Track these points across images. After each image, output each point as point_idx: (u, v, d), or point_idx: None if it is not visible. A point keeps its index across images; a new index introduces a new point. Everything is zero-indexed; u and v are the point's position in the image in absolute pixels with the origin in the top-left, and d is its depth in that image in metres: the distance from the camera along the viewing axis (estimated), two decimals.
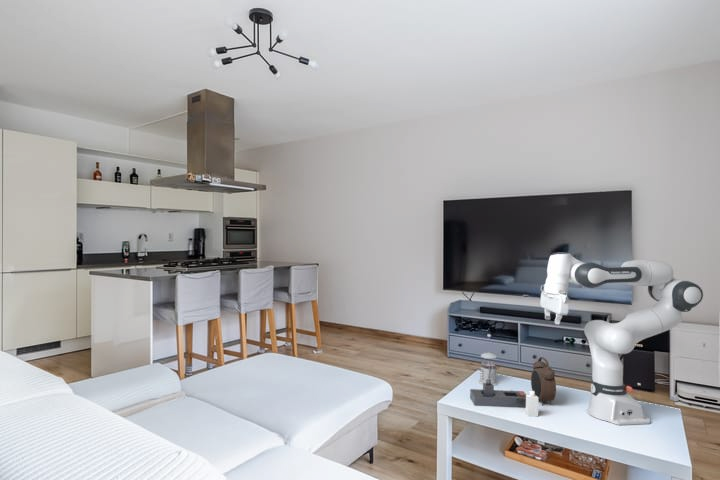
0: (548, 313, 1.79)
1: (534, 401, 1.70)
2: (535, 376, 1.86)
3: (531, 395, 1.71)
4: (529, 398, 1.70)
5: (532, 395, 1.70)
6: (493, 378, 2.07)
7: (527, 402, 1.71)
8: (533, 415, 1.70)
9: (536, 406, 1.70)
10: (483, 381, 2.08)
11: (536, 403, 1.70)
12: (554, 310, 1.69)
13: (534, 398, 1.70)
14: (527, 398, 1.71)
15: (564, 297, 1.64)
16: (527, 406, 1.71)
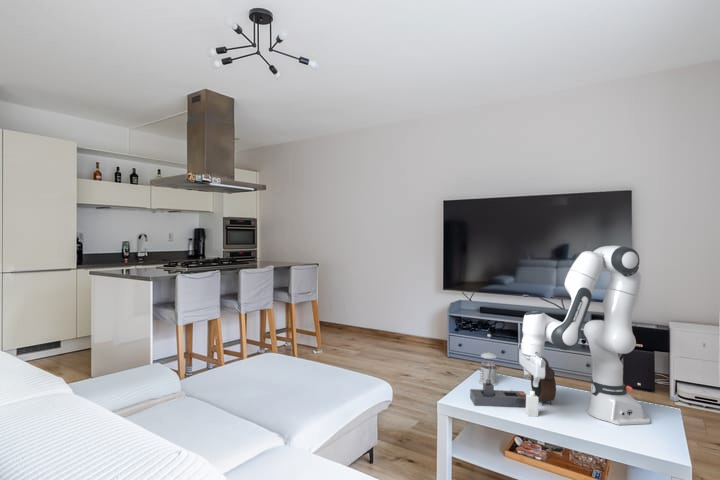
0: (527, 372, 1.77)
1: (535, 401, 1.70)
2: None
3: (531, 395, 1.71)
4: (529, 398, 1.70)
5: (532, 395, 1.70)
6: (493, 378, 2.07)
7: (527, 402, 1.71)
8: (533, 415, 1.70)
9: (536, 406, 1.70)
10: (483, 381, 2.08)
11: (536, 403, 1.70)
12: (531, 373, 1.66)
13: (534, 398, 1.70)
14: (527, 398, 1.71)
15: (540, 361, 1.62)
16: (527, 406, 1.71)
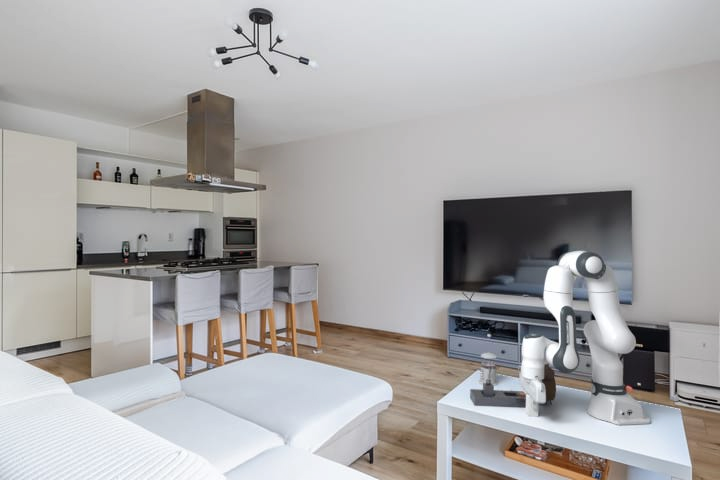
0: None
1: None
2: None
3: None
4: (529, 398, 1.70)
5: None
6: (493, 378, 2.07)
7: (527, 402, 1.71)
8: (533, 415, 1.70)
9: None
10: (483, 381, 2.08)
11: None
12: (532, 397, 1.66)
13: None
14: (527, 398, 1.71)
15: (540, 385, 1.62)
16: (527, 406, 1.71)
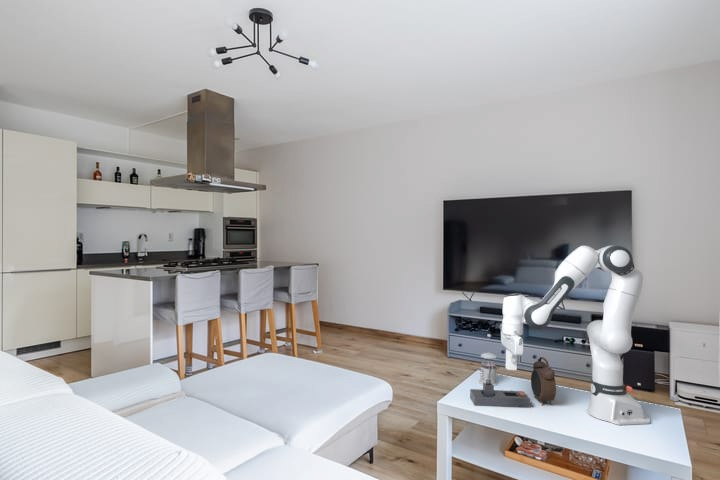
0: None
1: None
2: (535, 376, 1.86)
3: None
4: (508, 353, 1.82)
5: None
6: (493, 378, 2.07)
7: (507, 357, 1.83)
8: (512, 368, 1.82)
9: None
10: (483, 381, 2.08)
11: None
12: (511, 350, 1.78)
13: None
14: (507, 353, 1.83)
15: (518, 339, 1.74)
16: (507, 360, 1.83)
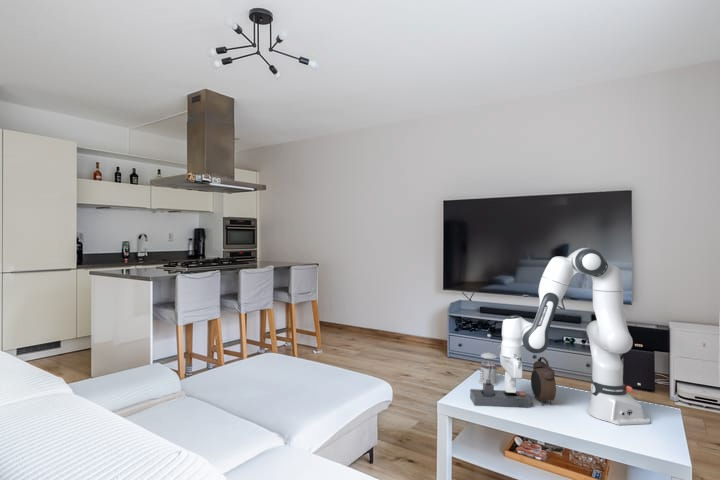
0: None
1: None
2: (535, 376, 1.86)
3: None
4: (507, 375, 1.82)
5: None
6: (493, 378, 2.07)
7: (506, 379, 1.83)
8: (511, 391, 1.82)
9: None
10: (483, 381, 2.08)
11: None
12: (510, 373, 1.79)
13: None
14: (506, 375, 1.83)
15: (517, 362, 1.74)
16: (506, 383, 1.83)
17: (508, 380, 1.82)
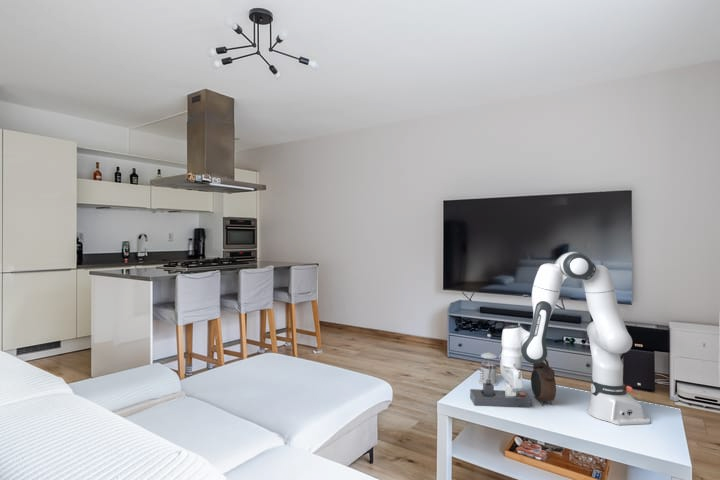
0: None
1: None
2: (535, 376, 1.86)
3: (510, 385, 1.83)
4: (508, 387, 1.82)
5: None
6: (493, 378, 2.07)
7: (506, 391, 1.83)
8: None
9: None
10: (483, 381, 2.08)
11: None
12: (510, 383, 1.78)
13: None
14: (506, 387, 1.83)
15: (517, 372, 1.74)
16: (506, 395, 1.83)
17: (508, 392, 1.82)
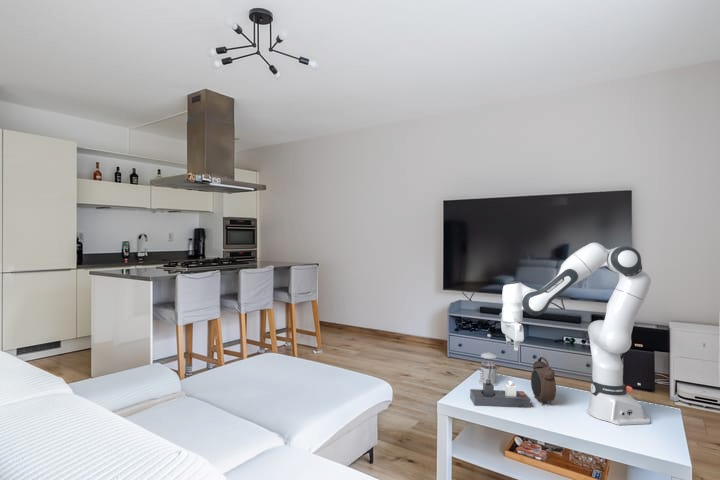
0: (509, 338, 1.92)
1: (513, 390, 1.82)
2: (535, 376, 1.86)
3: (510, 385, 1.83)
4: (508, 387, 1.82)
5: (511, 385, 1.83)
6: (493, 378, 2.07)
7: (506, 391, 1.83)
8: None
9: (514, 395, 1.82)
10: (483, 381, 2.08)
11: (514, 392, 1.82)
12: (512, 337, 1.82)
13: (513, 387, 1.82)
14: (506, 387, 1.83)
15: (518, 325, 1.77)
16: (506, 395, 1.83)
17: (508, 392, 1.82)
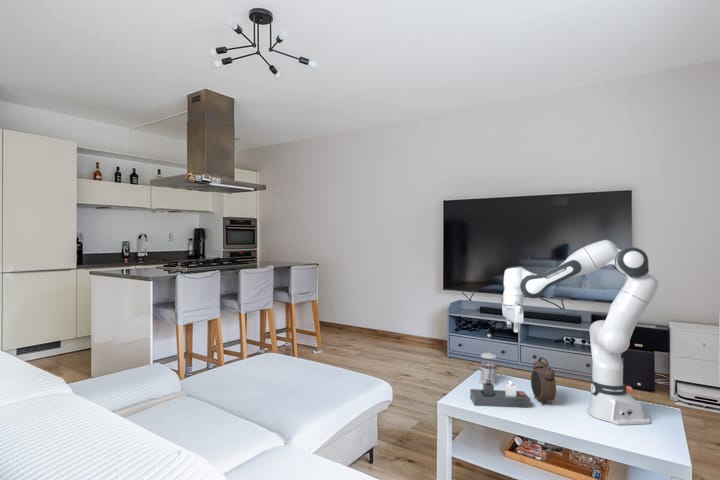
0: (509, 321, 1.98)
1: (513, 390, 1.82)
2: (535, 376, 1.86)
3: (510, 385, 1.83)
4: (508, 387, 1.82)
5: (511, 385, 1.83)
6: (493, 378, 2.07)
7: (506, 391, 1.83)
8: None
9: (514, 395, 1.82)
10: (483, 381, 2.08)
11: (514, 392, 1.82)
12: (512, 320, 1.87)
13: (513, 387, 1.82)
14: (506, 387, 1.83)
15: (518, 308, 1.83)
16: (506, 395, 1.83)
17: (508, 392, 1.82)
